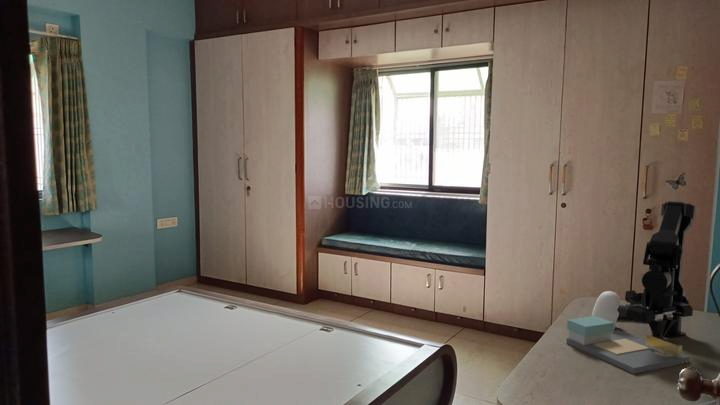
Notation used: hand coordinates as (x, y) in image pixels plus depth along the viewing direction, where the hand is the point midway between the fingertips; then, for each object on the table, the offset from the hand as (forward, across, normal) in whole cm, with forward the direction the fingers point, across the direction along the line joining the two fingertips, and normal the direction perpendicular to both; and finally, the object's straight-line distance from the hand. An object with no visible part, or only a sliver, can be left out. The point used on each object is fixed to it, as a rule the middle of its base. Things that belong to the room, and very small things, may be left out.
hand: (657, 342), depth 137 cm
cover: (-1, +12, -12) cm, 17 cm away
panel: (+3, +7, -4) cm, 9 cm away
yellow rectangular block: (+2, +2, +3) cm, 4 cm away
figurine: (+4, -4, -20) cm, 21 cm away
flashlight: (+5, -11, -28) cm, 31 cm away
